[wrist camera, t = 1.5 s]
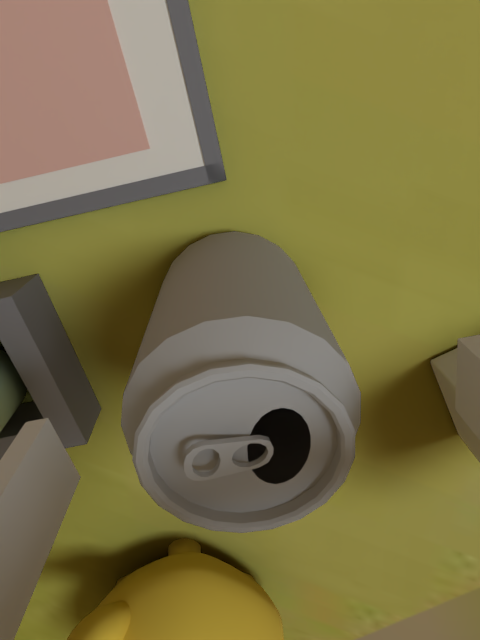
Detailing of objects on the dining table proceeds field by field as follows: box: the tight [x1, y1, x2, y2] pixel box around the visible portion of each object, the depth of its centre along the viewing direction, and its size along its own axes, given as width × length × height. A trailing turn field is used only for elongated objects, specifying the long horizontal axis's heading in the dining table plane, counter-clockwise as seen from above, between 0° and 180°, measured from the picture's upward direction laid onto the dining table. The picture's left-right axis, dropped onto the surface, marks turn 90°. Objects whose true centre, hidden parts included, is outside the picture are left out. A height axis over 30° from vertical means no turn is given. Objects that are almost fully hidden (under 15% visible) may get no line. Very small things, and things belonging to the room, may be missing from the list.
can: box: [121, 231, 361, 533], centre depth 16 cm, size 8×8×12 cm
